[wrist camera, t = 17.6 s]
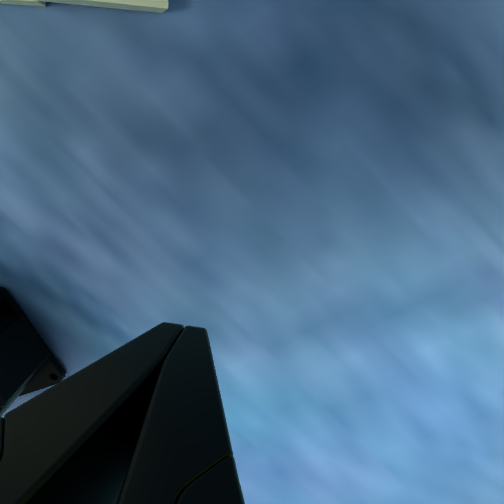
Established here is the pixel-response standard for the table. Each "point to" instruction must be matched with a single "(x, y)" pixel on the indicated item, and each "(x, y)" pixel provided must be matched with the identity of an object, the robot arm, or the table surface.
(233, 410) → the table surface
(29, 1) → the domino
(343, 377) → the table surface
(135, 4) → the domino
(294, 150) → the table surface
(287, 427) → the table surface
